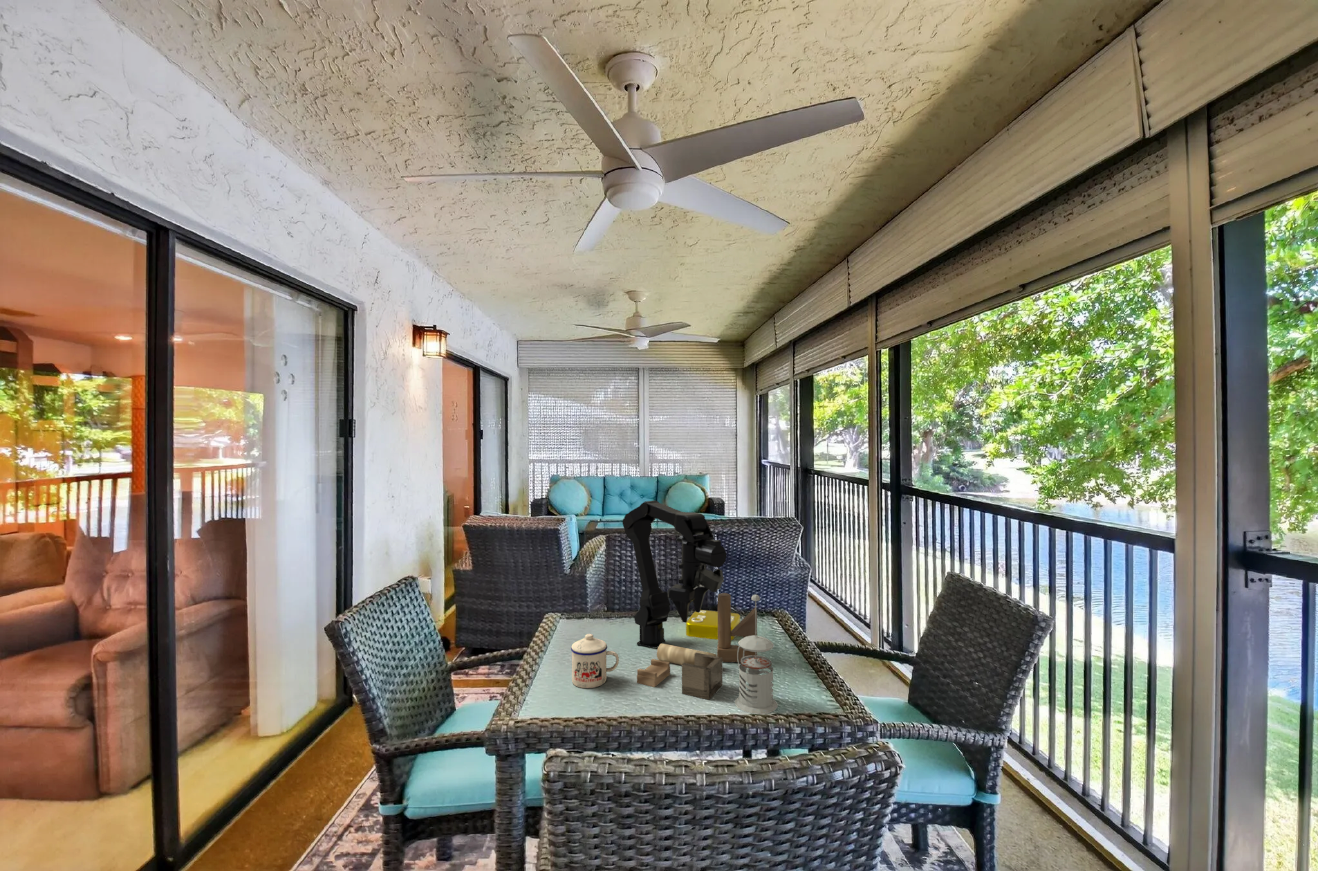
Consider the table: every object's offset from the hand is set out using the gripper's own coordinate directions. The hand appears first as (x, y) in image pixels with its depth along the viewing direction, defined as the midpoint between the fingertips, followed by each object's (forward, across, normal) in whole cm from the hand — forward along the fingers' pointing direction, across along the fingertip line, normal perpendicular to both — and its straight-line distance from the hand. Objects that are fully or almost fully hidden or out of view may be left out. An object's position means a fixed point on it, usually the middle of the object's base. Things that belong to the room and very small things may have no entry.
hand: (691, 616), depth 153 cm
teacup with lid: (+13, -22, +17) cm, 30 cm away
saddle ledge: (+12, -14, +4) cm, 19 cm away
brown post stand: (+12, +6, -11) cm, 18 cm away
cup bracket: (+12, -15, -9) cm, 21 cm away
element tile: (+13, +26, +3) cm, 29 cm away
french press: (+12, -15, -22) cm, 29 cm away
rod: (+12, -2, 0) cm, 13 cm away
